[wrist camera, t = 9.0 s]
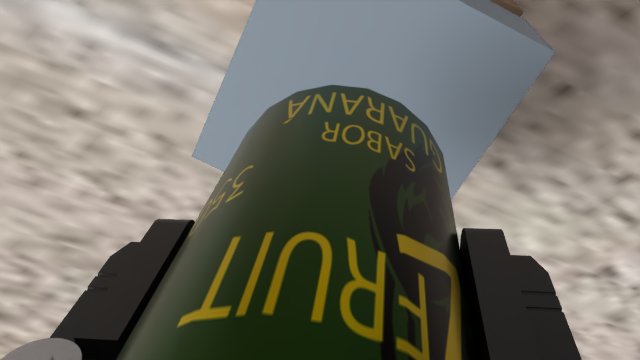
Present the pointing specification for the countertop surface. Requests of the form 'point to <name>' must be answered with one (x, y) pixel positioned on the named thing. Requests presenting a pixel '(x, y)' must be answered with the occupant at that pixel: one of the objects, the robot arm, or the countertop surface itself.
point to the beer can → (319, 245)
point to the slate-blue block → (383, 68)
